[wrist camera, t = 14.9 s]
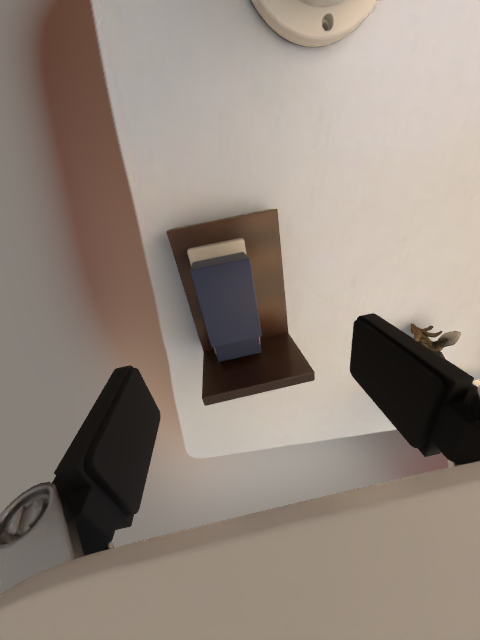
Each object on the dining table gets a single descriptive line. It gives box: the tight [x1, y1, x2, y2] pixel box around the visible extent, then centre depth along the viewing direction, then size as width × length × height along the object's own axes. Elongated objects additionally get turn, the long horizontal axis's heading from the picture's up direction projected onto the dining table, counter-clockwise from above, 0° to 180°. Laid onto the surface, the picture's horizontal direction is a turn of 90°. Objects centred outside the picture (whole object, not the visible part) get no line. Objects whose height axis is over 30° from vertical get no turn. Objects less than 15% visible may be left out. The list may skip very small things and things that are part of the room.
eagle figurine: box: [411, 324, 461, 359], centre depth 30 cm, size 8×7×9 cm
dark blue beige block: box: [187, 238, 262, 362], centre depth 20 cm, size 11×5×5 cm, turn 10°
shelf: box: [167, 209, 315, 406], centre depth 21 cm, size 14×10×10 cm
